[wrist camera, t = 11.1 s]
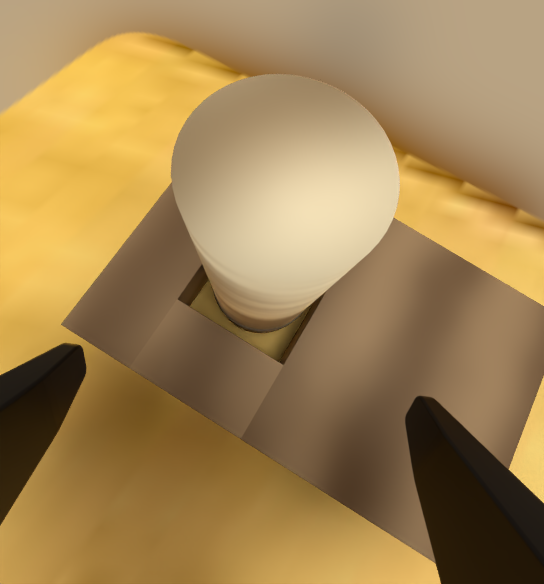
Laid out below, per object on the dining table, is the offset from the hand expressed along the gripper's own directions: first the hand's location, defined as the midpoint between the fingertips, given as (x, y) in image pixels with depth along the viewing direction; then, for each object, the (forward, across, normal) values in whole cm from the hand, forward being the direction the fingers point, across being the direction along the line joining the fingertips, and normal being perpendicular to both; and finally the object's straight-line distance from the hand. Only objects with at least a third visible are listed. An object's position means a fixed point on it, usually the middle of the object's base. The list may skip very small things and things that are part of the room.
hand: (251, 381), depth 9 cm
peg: (+11, 0, +4) cm, 11 cm away
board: (+10, -4, +5) cm, 11 cm away
